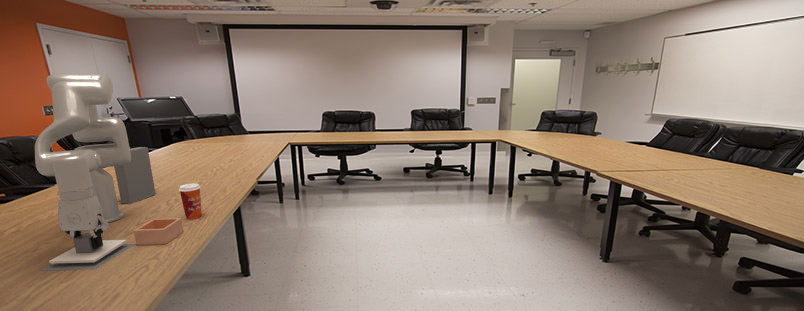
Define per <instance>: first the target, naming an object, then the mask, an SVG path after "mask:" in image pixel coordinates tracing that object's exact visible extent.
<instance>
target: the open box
mask: <svg viewBox="0 0 804 311" xmlns="http://www.w3.org/2000/svg"><path fill="white" fill-rule="evenodd" d="M183 226H184V224H183V220H182V218H181V217H178V218H177V217H176V218H173V217H172V218H153V219H151V220H149V221H147V222H146V223H144V224H142V225H141V226H139V227H137V228H135V229H134V230H133V234H134V235H133V236H134V240H135V245H136V246H148V245H149V246H150V245H167V244H168V243H170V242H172V240H174V239H176V238H177V237H178V236H180V235H182V233H184V231H185V230H184V227H183Z"/></svg>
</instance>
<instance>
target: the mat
mask: <svg viewBox="0 0 804 311" xmlns="http://www.w3.org/2000/svg"><path fill="white" fill-rule="evenodd" d="M135 245H136V243H125V244H123V245H121V246H120V247H118V248H117V249H115V250H113V251H112V252H110V253H109V254H107V255H105V256H104V257H102V258H101V259H99V260H97V261H96V262H88V263H51V264H50V265H48V266H47V267H44V268H43V269H40V270H39V272H51V271H53V272H54V271H55V272H56V271H73V270H75V271H76V270H80V271H81V270H97V269H98V268H100V267H102V266H103V265H105V264H106V263H108V262H109V261H111V260H113V259H115V257H117V256H119V255H120V254H122V253H123V252H125V251H127V250H128V249H130V248H131V247H133V246H135Z"/></svg>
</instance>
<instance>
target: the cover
mask: <svg viewBox="0 0 804 311" xmlns="http://www.w3.org/2000/svg"><path fill="white" fill-rule="evenodd" d="M91 238H92V236H91V234H90V232H89V231H88V232H84V233H82V235H80V236H78V237H76V238H74V239H73V238H72V240H73V245H74V247H72V248H71V249H68V250H67V251H65V252H63V253H61V254H59V255H57V256H56V257H54V258H51V259H49V260H48V263H49V264H50V265H51V264H53V263H88V262H96V261H97V260H99V259H101V258H102V257H104V256H105V255H107V254H109V253H110V252H112V251H113V250H115V249H117V248H118V247H120V246H121V245H123V244H127V243H128V239H107V240H106V239H105V240H103V239H102V241H103V245H102V246H101V247H99V248H97V249H93V247H92V243H91Z"/></svg>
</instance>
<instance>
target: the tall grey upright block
mask: <svg viewBox="0 0 804 311" xmlns="http://www.w3.org/2000/svg"><path fill="white" fill-rule="evenodd" d="M130 152H131V161H130V163H129V164H126V165H121V166H113V167H114V173H115V178H116V183H117V188H118V193H119V198H120V199H119V204H129V205H131V204H133V203H135V202H138V201H139V202H140V201H142V200H144V199H146V198H149V197H152V196H155V195H157V192H156V189H155V182H154V177H153V170H152V165H151V160H150V155H149V148H148V147H145V146H144V147H143V146H138V147H133V148H130Z"/></svg>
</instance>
